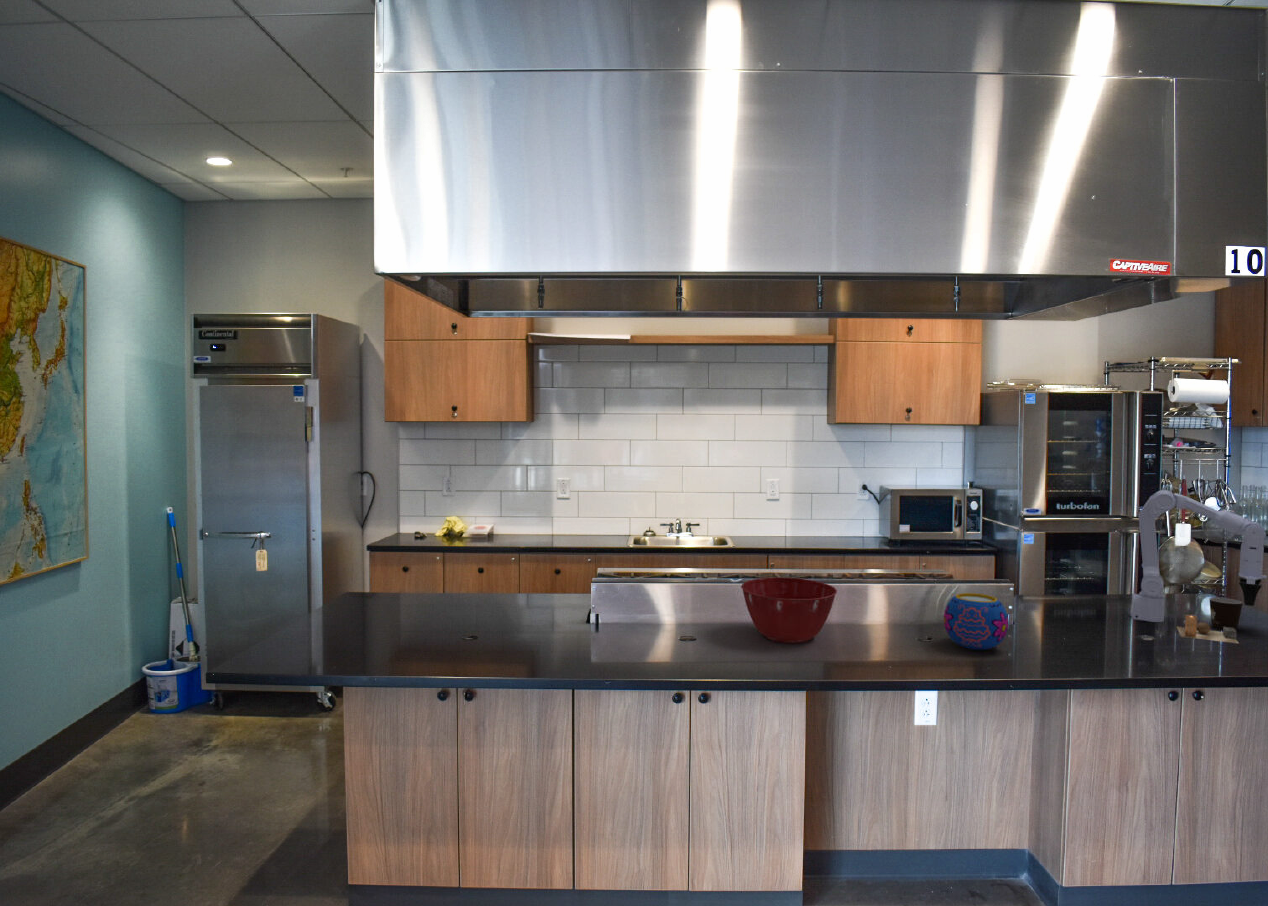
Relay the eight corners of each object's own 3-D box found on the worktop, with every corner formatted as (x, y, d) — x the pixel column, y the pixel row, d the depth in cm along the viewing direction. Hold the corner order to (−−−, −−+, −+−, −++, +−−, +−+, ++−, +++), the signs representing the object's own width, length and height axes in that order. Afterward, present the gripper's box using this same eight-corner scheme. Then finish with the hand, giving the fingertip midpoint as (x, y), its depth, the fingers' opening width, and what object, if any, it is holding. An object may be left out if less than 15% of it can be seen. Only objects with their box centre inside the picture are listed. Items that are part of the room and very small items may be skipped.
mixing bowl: (837, 654, 232) (839, 600, 231) (736, 647, 238) (737, 594, 237) (833, 628, 260) (835, 580, 259) (743, 622, 265) (744, 575, 264)
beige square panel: (1180, 639, 251) (1181, 628, 251) (1176, 629, 264) (1176, 619, 263) (1238, 646, 245) (1239, 635, 244) (1231, 635, 257) (1231, 625, 256)
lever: (1183, 625, 263) (1184, 607, 263) (1196, 627, 261) (1197, 608, 261) (1183, 635, 251) (1184, 616, 251) (1197, 637, 249) (1198, 617, 249)
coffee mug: (1240, 636, 256) (1242, 605, 255) (1207, 632, 261) (1208, 601, 260) (1241, 629, 265) (1242, 598, 265) (1208, 624, 270) (1210, 594, 270)
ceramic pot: (1010, 645, 243) (1012, 595, 243) (1003, 660, 228) (1005, 607, 227) (948, 636, 252) (950, 587, 251) (937, 650, 237) (939, 599, 236)
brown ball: (1196, 634, 254) (1197, 622, 254) (1195, 631, 258) (1195, 620, 257) (1210, 635, 253) (1211, 624, 253) (1209, 633, 256) (1209, 621, 256)
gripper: (1268, 565, 249) (1265, 609, 250) (1266, 558, 261) (1264, 600, 261) (1239, 562, 253) (1237, 605, 254) (1239, 556, 265) (1236, 597, 266)
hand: (1248, 603), depth 258 cm, fingers open, 7 cm apart
